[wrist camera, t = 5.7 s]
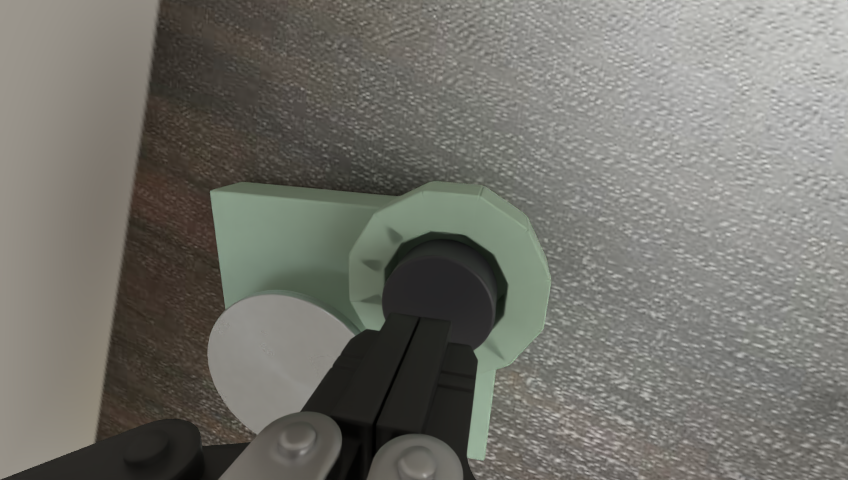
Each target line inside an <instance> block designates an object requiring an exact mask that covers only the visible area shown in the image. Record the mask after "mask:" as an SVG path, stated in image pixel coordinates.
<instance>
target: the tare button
mask: <svg viewBox="0 0 848 480" xmlns="http://www.w3.org/2000/svg"><path fill="white" fill-rule="evenodd" d="M496 303H497V282H496V278H495V275H494V272H493V270H492V268H491V266H490V264H489V263H488V262H487V260H486V259H485V258H484V257H483V256H482V255H481V254H480V253H479V252H478V251H476V250H475V249H474V248H472V247H470V246H469V245H466V244H464V243H462V242H459V241H455V240H450V239H434V240H429V241H426V242H423V243H420V244H418V245H417V246H415V247H413V248H412V249H411V250H409V251H408V252H407V253H406V254H405V256H404V257H403V258H402V259H401V261H400V262H399V264H398V265H397V266H396V268H395V269H394V270H393V272H392V273H391V274H390V276H389V277H388V279H387V281H386V283H385V286H384V288H383V293H382V310H383V315H384V318H385V321H386V319H387V317H388V315H389V314H390V313H391V312H395V313H401V314H408V315H415V316H420V317H421V318H422V317H428V318H435V319H442V320H448V321H452V335H451V342H452V343H459V344H465V345H471V347H472V349H473V351H474V350H475V349H477V348H478V347H479V346H480V345H482V344H483V343H484V342H485V340H486V339H487V338H488V336H489V334H490V333H491V331H492V328H493V325H494V321H495V315H496Z"/></svg>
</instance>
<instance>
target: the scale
mask: <svg viewBox="0 0 848 480" xmlns="http://www.w3.org/2000/svg"><path fill="white" fill-rule="evenodd" d="M210 197H211V204H212V212H213V219H214V227H215V234H216V241H217V249H218V256H219V264H220V271H221V279H222V286H223V294H224V301H225V309H228V308H229V307H230V306H231V305H233V304H234V303H235V302H237V301H238V300H240V299H242V298H244V297H245V296H248V295H251V294H253V293H256V292H261V291H266V290H287V291H294V292H298V293H303V294H306V295H309V296H312V297H314V298H317V299H319V300H321V301H323V302H325V303H327V304H329V305H330V306H332V307H333V308H335V309H337V310H338V311H339V312H341V313H342V314H343V315H345V316H346V317H347V318H348V319H349V320H350V321H351V322H352V323H353V324H355V325H356V326H357V328H358V329H359V330H360V331H361V332H362V331H364V330H366V329H371V330H377V331H380V329H381V327H382V326H383V324H384V322H385V318H384V315H383V310H382V293H383V288H384V286H385V283H386V281H387V279H388V277H389V276H390V274H391V273H392V272H393V270H394V269H395V268H396V266H397V265H398V264H399V262H400V261H401V259H402V258H403V257H404V256H405V254H406V253H407V252H408V251H409V250H411V249H412V248H413V247H415V246H417V245H418V244H420V243H423V242H426V241H429V240H434V239H450V240H455V241H459V242H462V243H464V244H466V245H469V246H470V247H472V248H474V249H475V250H476V251H478V252H479V253H480V254H481V255H482V256H483V257H484V258H485V259H486V260H487V262H488V263H489V264H490V266H491V268H492V270H493V272H494V275H495V278H496V282H497V303H496V315H495V321H494V325H493V328H492V331H491V333H490V334H489V336H488V338H487V339H486V340H485V342H484V343H483V344H482V345H480V346H479V347H478V348H477V349H475V350H474V353H475V355H476V357H477V359H478V366H477V374H476V383H475V392H474V400H473V409H472V418H471V426H470V434H469V442H468V450H467V457H468V458H472V459H477V460H482V461H483V460H484V459H485V453H486V445H487V437H488V430H489V422H490V414H491V406H492V398H493V390H494V382H495V374H496V369H500V368H503V367H507V366H509V365H510V364H511V363H512V362H513V361H514V360H515V359H516V358H517V357H518V356H519V355H520V354H521V353H522V352H523V351H524V350H525V349H526V347H527V346H528V345H529V344H530V343H531V342H532V341H533V340H534V339H535V338H536V337H537V336H538V335H539V334H540V333H541V332H542V330H543V328H544V323H545V317H546V311H547V305H548V299H549V293H550V287H551V276H550V272H549V267H548V263H547V259H546V256H545V254H544V252H543V250H542V248H541V245H540V243H539V241H538V239H537V236H536V234H535V232H534V230H533V228H532V225H531V223H530V221H529V219H528V217H527V216H526V215H525V214H524V213H523V212H522V211H520V210H519V209H517V208H516V207H514V206H513V205H511V204H510V203H509V202H507V201H506V200H504V199H503V198H501V197H500V196H498V195H497V194H495V193H494V192H493V191H491V190H490V189H488V188H487V187H485V186H482V185H475V184H463V183H451V182H440V181H432V182H428V183H426V184H424V185H422V186H420V187H418V188H416V189H414V190H412V191H410V192H408V193H406V194H404V195H401V196H389V195H378V194H368V193H357V192H346V191H336V190H325V189H314V188H304V187H293V186H282V185H272V184H261V183H251V182H239V183H236V184H232V185H228V186H225V187H221V188H217V189H214V190H211V191H210Z"/></svg>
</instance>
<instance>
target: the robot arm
mask: <svg viewBox="0 0 848 480" xmlns="http://www.w3.org/2000/svg"><path fill="white" fill-rule="evenodd" d="M451 335H452V321H448V320H442V319H435V318H428V317H422V318H421V317H420V316H415V315H408V314H401V313H395V312H391V313H390V314H389V315H388V317H387V319H386V321H385V322H384V324H383V326H382V327H381V329H380V331H377V330H371V329H366V330H364V331H362V332H361V333H359V334H358V335H356V336H354V337H353V338H351V339H350V340H349V342H348V343H347V345H346V346H345V348H344V349H343V350H342V352H341V355H340V356H338V358H337V359H336V361H335V362H334V363H333V366H332V368H330V369H329V371H328V372H327V374H326V375H325V376H324V378H323V379H322V381H321V382H320V384H319V385H318V387H317V388H316V389H315V391H314V392H313V394H312V395H311V397H310V398H309V399H308V401H307V402H306V404H305V405H304V407H303V408H302V410H301V411H300V412H296V413H292V414H288V415H285V416H283V417H280V418H278V419H276V420H275V421H273V422H271V423H270V424H269V425H267V426H266V427H265V428H264V429H263V430H262V431H261V432H260V433H259V434H258V435H257V436H256V437H255V438H254V440H253V441H252V442H247V443H238V444H224V445H211V446H202V442H201V436H200V432H199V430H198V428H197V427H196V426H195V425H194V424H192V423H190V422H188V421H185V420H180V419H165V420H159V421H154V422H150V423H147V424H144V425H142V426H139V427H136V428H134V429H131V430H129V431H126V432H123V433H121V434H118V435H116V436H113V437H110V438H108V439H105V440H103V441H100V442H97V443H95V444H92V445H90V446H87V447H84V448H82V449H79V450H77V451H74V452H71V453H69V454H66V455H64V456H61V457H59V458H56V459H53V460H51V461H48V462H45V463H43V464H40V465H38V466H35V467H32V468H30V469H27V470H25V471H22V472H19V473H17V474H14V475H12V476H9V477H7V478H4V479H1V480H476V479H475V478H474V476H473V474H472V472H471V470H470V467H469V464H468V460H467V450H468V442H469V434H470V426H471V418H472V409H473V400H474V392H475V383H476V374H477V366H478V359H477V357H476V355H475V353H474V351H473V349H472V347H471V345H465V344H459V343H452V342H451Z"/></svg>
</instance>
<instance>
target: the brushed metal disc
mask: <svg viewBox="0 0 848 480" xmlns="http://www.w3.org/2000/svg"><path fill="white" fill-rule="evenodd" d="M359 333H361V331H360V330H359V329H358V328H357V326H356V325H355V324H353V323H352V322H351V321H350V320H349V319H348V318H347V317H346V316H345V315H343V314H342V313H341V312H339V311H338V310H337V309H335V308H333V307H332V306H330V305H329V304H327V303H325V302H323V301H321V300H319V299H317V298H314V297H312V296H309V295H306V294H303V293H298V292H294V291H287V290H266V291H261V292H256V293H253V294H251V295H248V296H245V297H244V298H242V299H240V300H238V301H237V302H235V303H234V304H233V305H231V306H230V307H229V308H228V309H226V310H225V311H224V312H223V313H222V314H221V316H220V317H219V318H218V320H217V321H216V323H215V325H214V326H213V329H212V331H211V334H210V338H209V343H208V364H209V369H210V373H211V376H212V379H213V382H214V385H215V387H216V389H217V391H218V393H219V395H220V396H221V398H222V400H223V401H224V403H225V404H226V405H227V407H228V408H229V409H230V411H231V412H232V413H233V414H234V415H235V416H236V417H237V418H238V419H239V420H240V421H241V422H242V423H243V424H244V425H245V426H246V427H247V428H249V429H250V430H251V431H253V432H254V433H255V434H257V435H258V434H259V433H260V432H261V431H262V430H263V429H264V428H265V427H266V426H267V425H269V424H270V423H271V422H273V421H275V420H276V419H278V418H280V417H283V416H285V415H288V414H292V413H296V412H300V411H301V410H302V408H303V407H304V405H305V404H306V402H307V401H308V399H309V398H310V397H311V395H312V394H313V392H314V391H315V389H316V388H317V387H318V385H319V384H320V382H321V381H322V379H323V378H324V376H325V375H326V374H327V372H328V371H329V369H330V368H332V366H333V363H334V362H335V361H336V359H337V358H338V356H340V355H341V352H342V350H343V349H344V348H345V346H346V345H347V343H348V342H349V340H350V339H351V338H353V337H354V336H356V335H358V334H359Z"/></svg>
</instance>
